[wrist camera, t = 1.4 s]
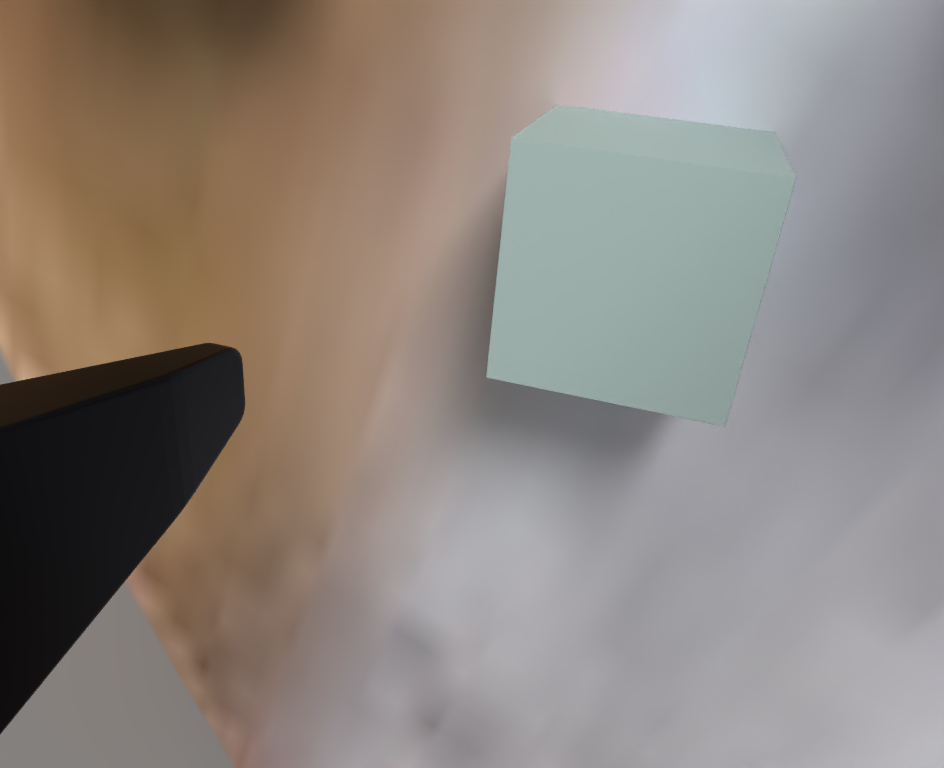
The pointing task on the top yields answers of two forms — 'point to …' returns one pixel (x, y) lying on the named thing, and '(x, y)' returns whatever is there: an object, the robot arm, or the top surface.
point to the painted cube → (635, 258)
